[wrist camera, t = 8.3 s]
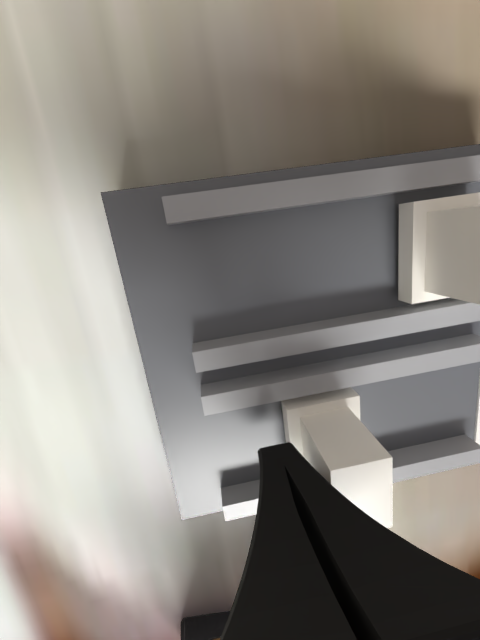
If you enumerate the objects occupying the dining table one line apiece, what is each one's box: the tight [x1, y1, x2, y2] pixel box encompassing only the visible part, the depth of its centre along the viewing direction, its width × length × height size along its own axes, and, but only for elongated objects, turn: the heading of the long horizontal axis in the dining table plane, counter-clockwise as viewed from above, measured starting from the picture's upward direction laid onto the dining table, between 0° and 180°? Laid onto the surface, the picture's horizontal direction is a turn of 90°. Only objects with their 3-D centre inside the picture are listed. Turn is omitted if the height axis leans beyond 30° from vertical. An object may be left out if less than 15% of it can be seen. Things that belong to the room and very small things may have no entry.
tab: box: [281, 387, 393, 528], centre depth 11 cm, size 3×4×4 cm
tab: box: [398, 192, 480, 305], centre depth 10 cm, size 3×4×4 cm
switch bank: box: [101, 144, 480, 521], centre depth 13 cm, size 16×14×4 cm
